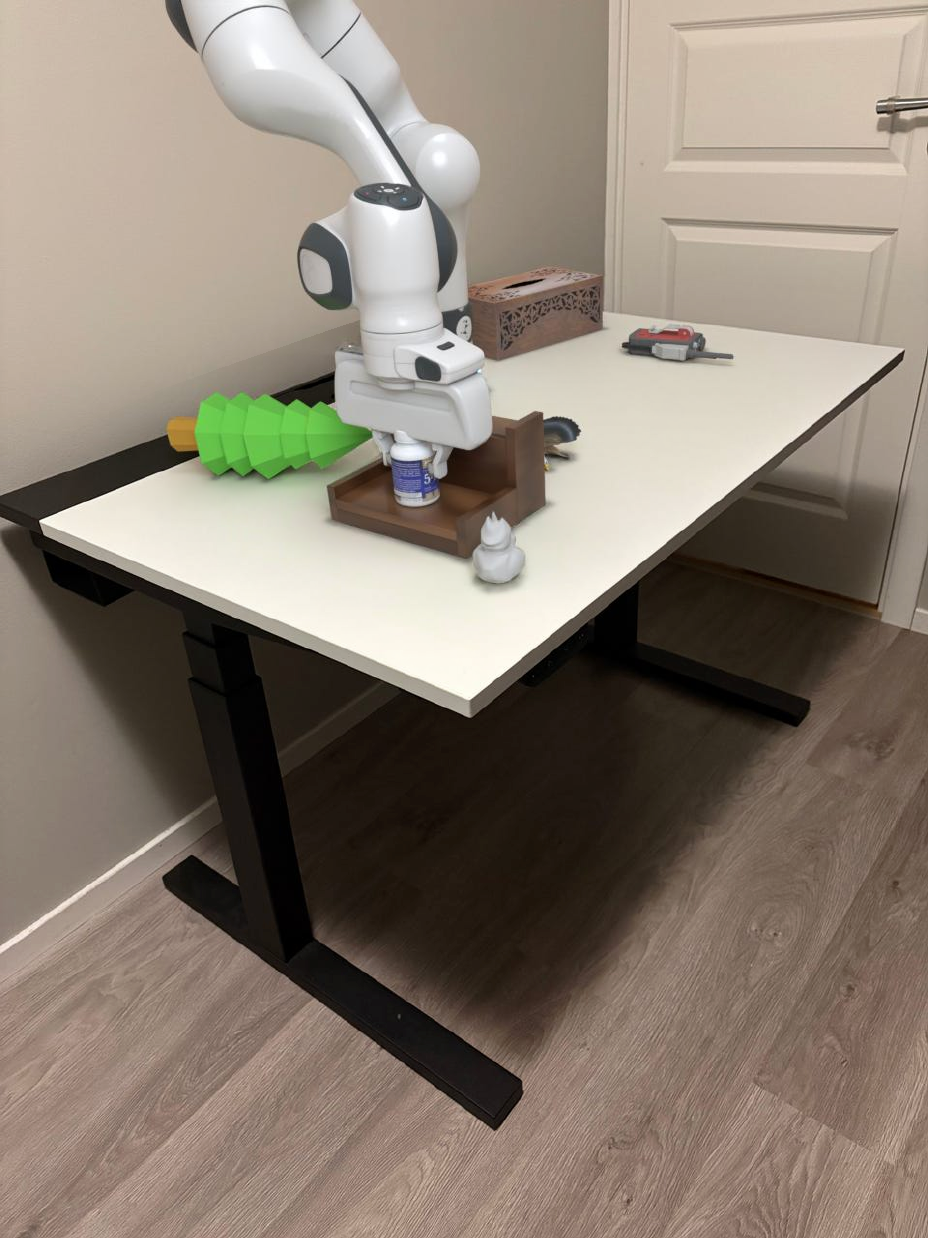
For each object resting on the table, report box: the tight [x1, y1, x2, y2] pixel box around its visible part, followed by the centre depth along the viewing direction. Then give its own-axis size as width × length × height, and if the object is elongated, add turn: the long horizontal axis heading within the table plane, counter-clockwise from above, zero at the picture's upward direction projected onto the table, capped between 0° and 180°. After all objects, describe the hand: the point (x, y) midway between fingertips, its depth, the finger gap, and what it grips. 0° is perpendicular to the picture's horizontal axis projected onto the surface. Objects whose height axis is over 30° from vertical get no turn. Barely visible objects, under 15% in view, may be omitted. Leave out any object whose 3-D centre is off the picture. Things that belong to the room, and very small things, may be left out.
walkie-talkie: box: [621, 323, 734, 362], centre depth 160 cm, size 9×4×20 cm
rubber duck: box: [471, 512, 526, 584], centre depth 97 cm, size 5×7×8 cm
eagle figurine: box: [543, 415, 582, 471], centre depth 123 cm, size 8×7×9 cm
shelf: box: [326, 410, 547, 559], centre depth 111 cm, size 16×20×12 cm
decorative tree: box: [165, 391, 373, 480], centre depth 126 cm, size 11×12×30 cm
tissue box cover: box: [467, 265, 604, 362], centre depth 175 cm, size 26×14×10 cm, turn 128°
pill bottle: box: [390, 430, 440, 507], centre depth 108 cm, size 5×5×9 cm
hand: (415, 470), depth 109 cm, fingers closed on pill bottle, 5 cm apart
